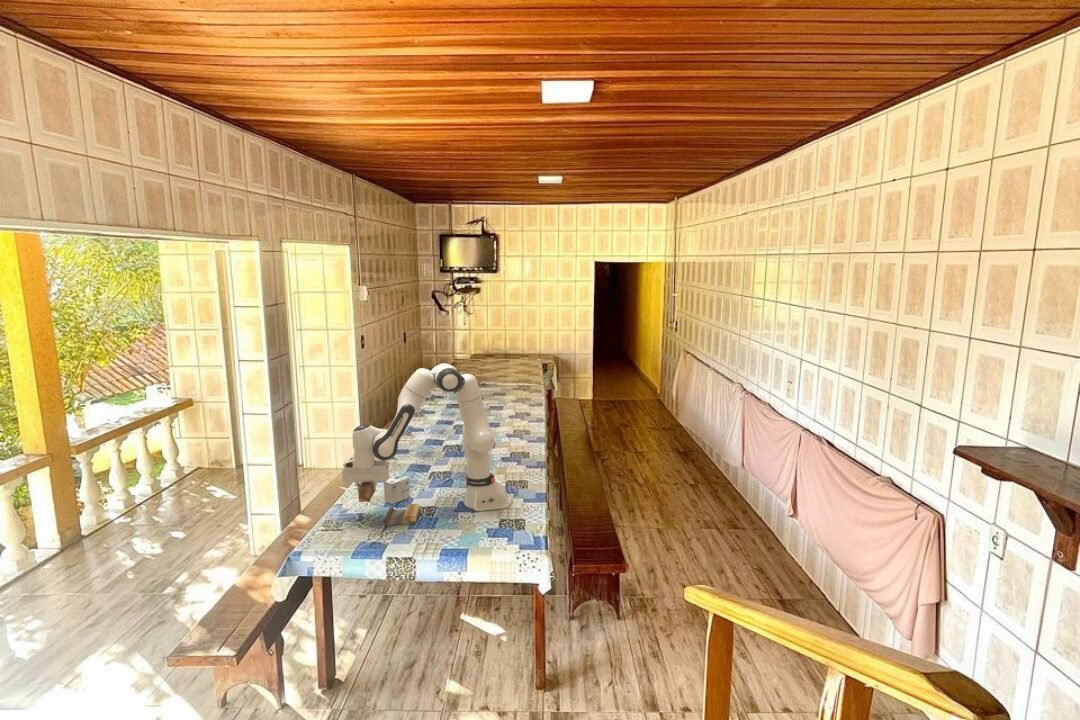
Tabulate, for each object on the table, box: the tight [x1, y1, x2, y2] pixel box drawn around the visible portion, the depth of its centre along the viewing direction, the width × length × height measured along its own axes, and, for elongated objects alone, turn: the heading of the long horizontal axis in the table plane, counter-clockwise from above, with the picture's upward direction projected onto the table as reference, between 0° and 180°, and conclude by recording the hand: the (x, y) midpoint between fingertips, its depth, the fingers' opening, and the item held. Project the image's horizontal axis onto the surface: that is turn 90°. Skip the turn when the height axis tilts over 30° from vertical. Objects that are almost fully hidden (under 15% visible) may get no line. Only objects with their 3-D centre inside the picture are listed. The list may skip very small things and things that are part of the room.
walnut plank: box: [357, 481, 377, 503], centre depth 247 cm, size 4×12×6 cm, turn 3°
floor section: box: [383, 503, 421, 527], centre depth 250 cm, size 14×13×4 cm
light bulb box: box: [383, 473, 411, 505], centre depth 269 cm, size 11×7×11 cm, turn 141°
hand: (367, 490), depth 247 cm, fingers closed on walnut plank, 4 cm apart
